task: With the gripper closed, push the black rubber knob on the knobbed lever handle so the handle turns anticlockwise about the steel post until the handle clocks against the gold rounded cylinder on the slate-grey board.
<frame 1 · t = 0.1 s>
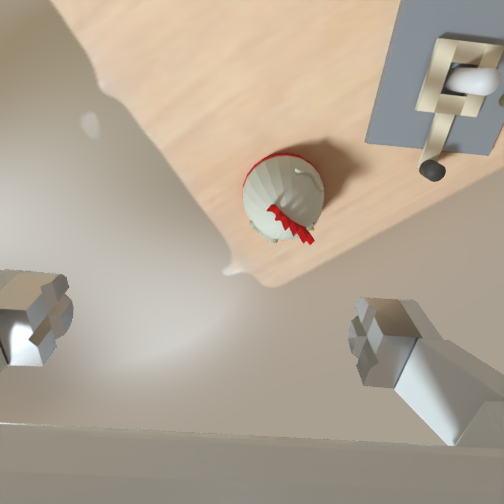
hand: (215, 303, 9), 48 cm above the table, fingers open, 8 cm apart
knobbed lever handle: (450, 116, 48), point 4 cm above the table, hinge at 0.0°
board: (448, 78, 49), on the table
gold rounded cylinder: (499, 98, 51), resting on board
kitchen timer: (282, 192, 58), on the table
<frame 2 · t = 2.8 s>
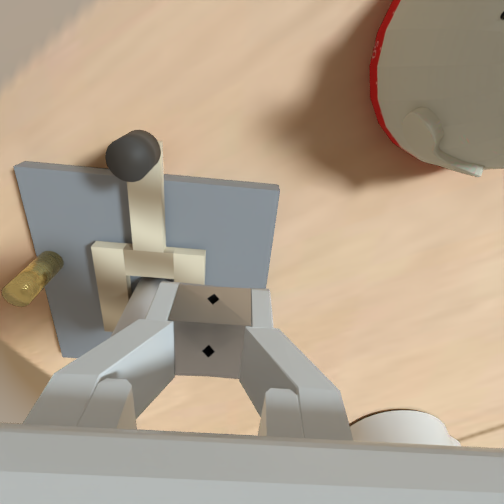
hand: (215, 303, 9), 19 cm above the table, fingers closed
knobbed lever handle: (144, 256, 26), point 4 cm above the table, hinge at 0.0°
board: (159, 276, 31), on the table
gold rounded cylinder: (60, 252, 30), resting on board
kitchen timer: (469, 60, 23), on the table
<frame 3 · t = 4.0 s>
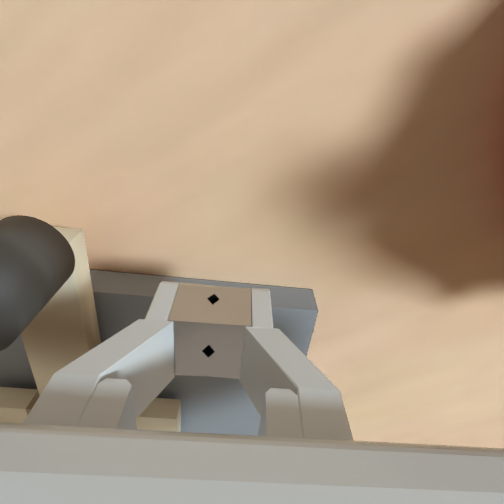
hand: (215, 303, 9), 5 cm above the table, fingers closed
knobbed lever handle: (60, 432, 14), point 4 cm above the table, hinge at 0.0°
board: (109, 414, 19), on the table
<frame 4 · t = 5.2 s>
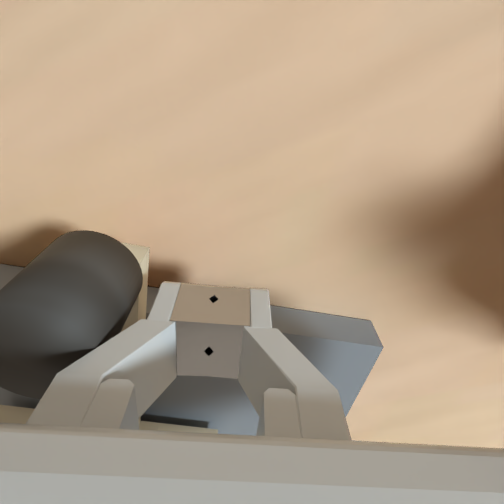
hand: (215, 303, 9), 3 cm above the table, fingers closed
knobbed lever handle: (91, 465, 12), point 4 cm above the table, hinge at 0.0°, touching gripper
board: (125, 434, 18), on the table
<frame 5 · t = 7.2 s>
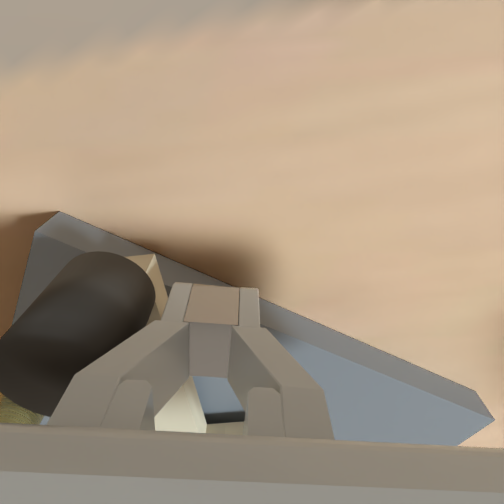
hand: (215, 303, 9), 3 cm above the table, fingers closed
knobbed lever handle: (168, 475, 12), point 4 cm above the table, hinge at 35.4°, touching gripper
board: (204, 440, 18), on the table
gold rounded cylinder: (45, 367, 15), resting on board
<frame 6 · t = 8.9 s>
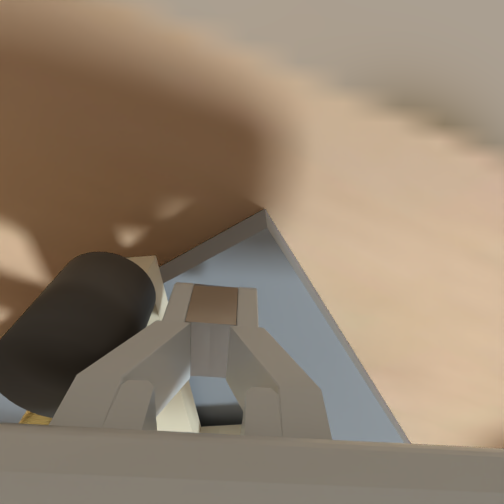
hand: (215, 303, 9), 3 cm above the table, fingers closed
knobbed lever handle: (161, 477, 12), point 4 cm above the table, hinge at 63.9°, touching gold rounded cylinder, gripper
board: (196, 442, 18), on the table
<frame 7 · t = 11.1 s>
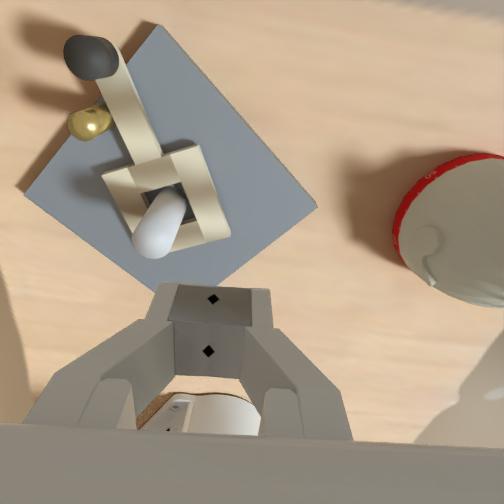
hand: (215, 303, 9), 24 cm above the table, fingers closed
knobbed lever handle: (144, 162, 28), point 4 cm above the table, hinge at 63.9°, touching gold rounded cylinder
board: (175, 195, 33), on the table
gold rounded cylinder: (113, 112, 29), resting on board
kitchen timer: (458, 218, 35), on the table
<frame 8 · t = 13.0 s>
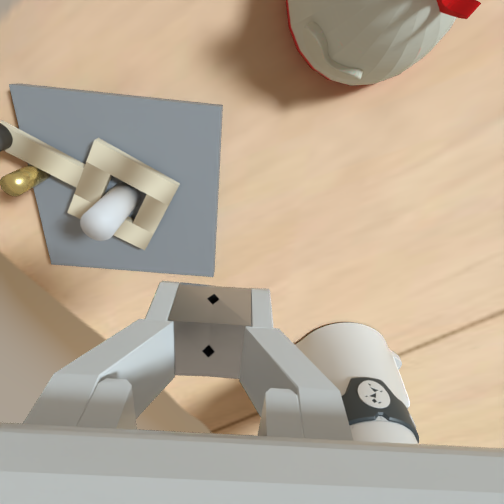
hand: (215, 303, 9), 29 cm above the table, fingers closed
knobbed lever handle: (74, 180, 33), point 4 cm above the table, hinge at 63.9°, touching gold rounded cylinder
board: (130, 190, 38), on the table
gold rounded cylinder: (48, 166, 37), resting on board
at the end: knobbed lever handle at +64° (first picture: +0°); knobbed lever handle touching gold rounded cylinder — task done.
